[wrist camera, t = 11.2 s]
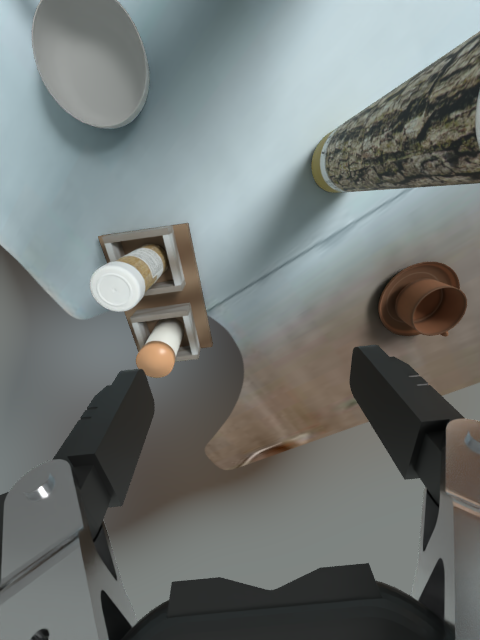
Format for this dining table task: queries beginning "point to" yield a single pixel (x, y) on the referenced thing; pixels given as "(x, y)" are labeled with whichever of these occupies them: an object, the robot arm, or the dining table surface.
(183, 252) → the board
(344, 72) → the dining table surface
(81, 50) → the small pan
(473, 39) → the paper tube
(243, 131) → the dining table surface
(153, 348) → the white lotion bottle
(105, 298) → the sprinkles bottle
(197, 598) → the robot arm
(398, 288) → the cup and saucer
